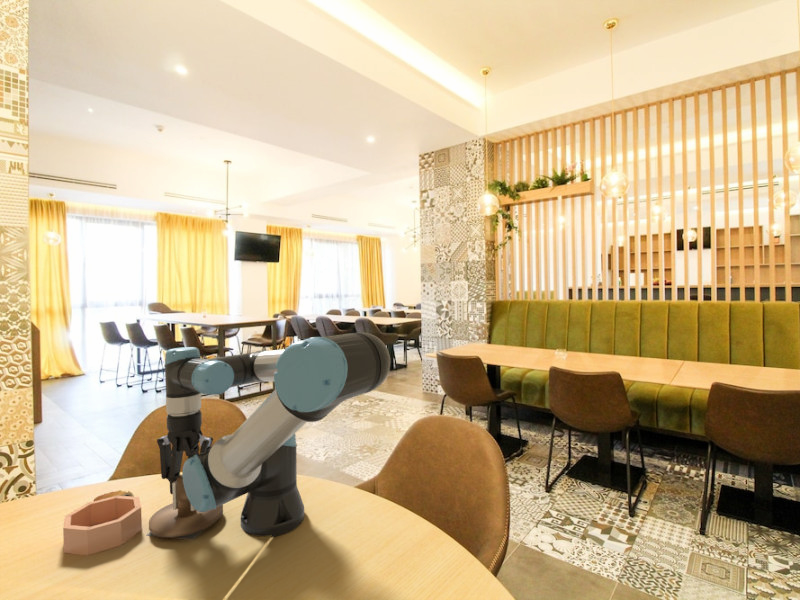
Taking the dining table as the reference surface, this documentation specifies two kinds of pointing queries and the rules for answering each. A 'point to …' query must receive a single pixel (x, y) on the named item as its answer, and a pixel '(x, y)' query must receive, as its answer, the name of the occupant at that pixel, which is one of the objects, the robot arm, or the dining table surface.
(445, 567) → the dining table surface
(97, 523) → the bowl
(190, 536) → the mat
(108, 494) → the pastry
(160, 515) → the lid
